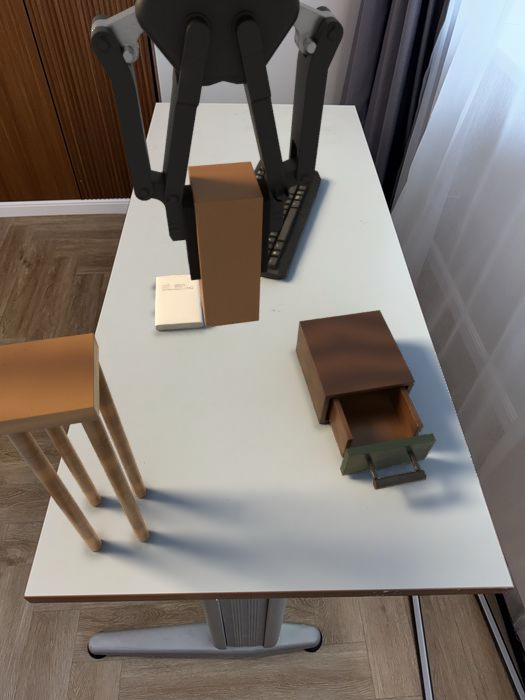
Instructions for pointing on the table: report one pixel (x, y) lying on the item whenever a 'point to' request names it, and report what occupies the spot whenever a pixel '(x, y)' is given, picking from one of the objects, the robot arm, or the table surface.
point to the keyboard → (289, 226)
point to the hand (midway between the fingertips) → (227, 264)
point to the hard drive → (177, 303)
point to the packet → (228, 241)
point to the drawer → (379, 434)
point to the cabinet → (349, 358)
